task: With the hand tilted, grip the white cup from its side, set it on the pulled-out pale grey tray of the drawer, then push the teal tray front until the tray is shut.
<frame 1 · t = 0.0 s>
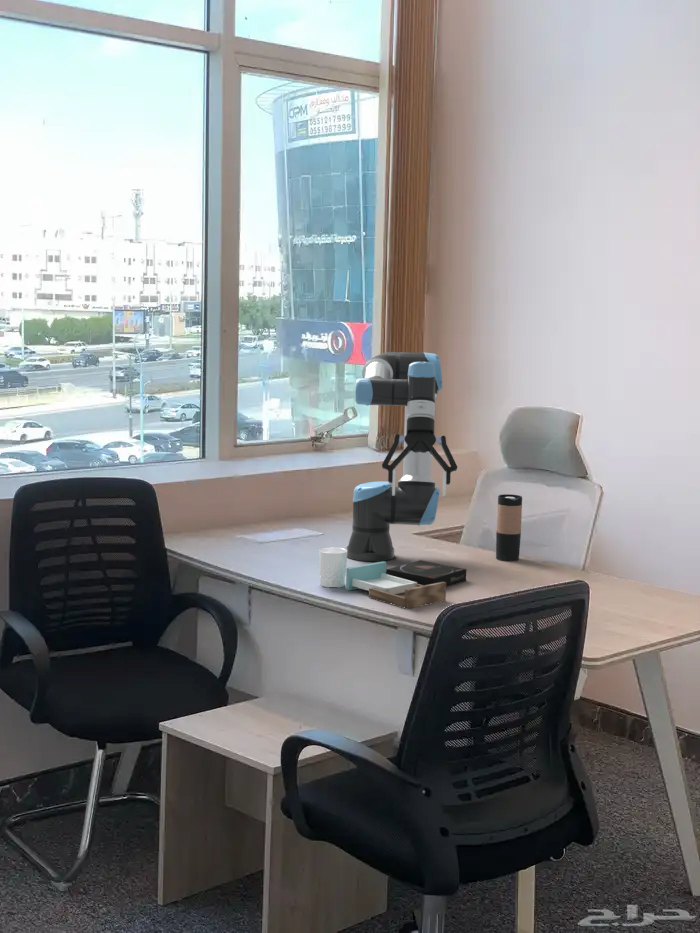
hand: (418, 495, 313), 28 cm above the table, tool tilted 20°, fingers open, 13 cm apart
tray: (383, 580, 321), point 3 cm above the table, slide at 8.0 cm
portable cd player: (425, 583, 335), on the table
travel mug: (507, 559, 367), on the table
white cup: (332, 585, 328), on the table
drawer: (407, 599, 314), on the table
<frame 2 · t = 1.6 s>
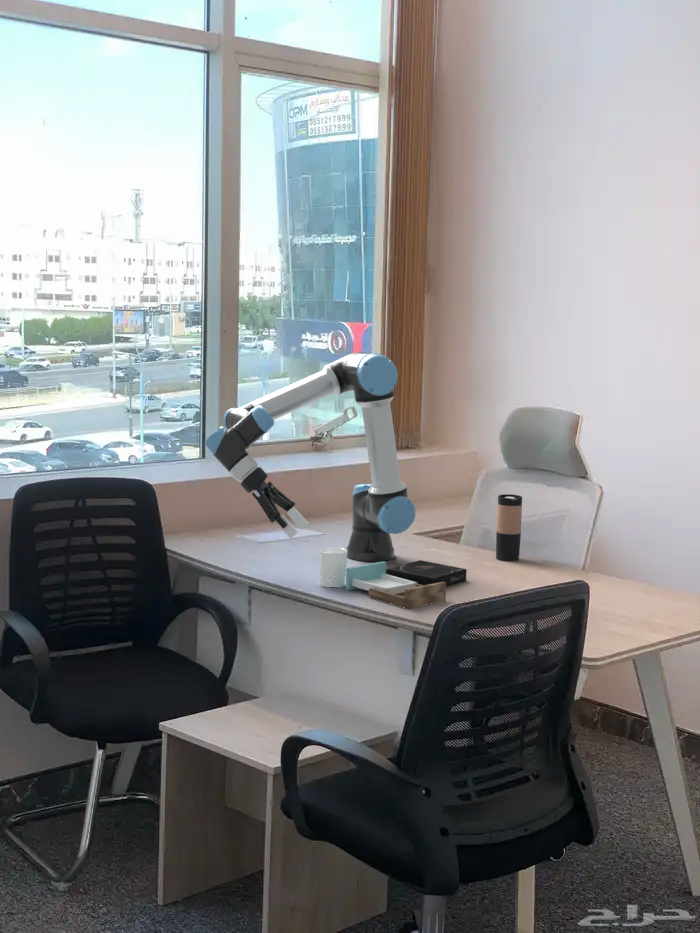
hand: (300, 530, 327), 15 cm above the table, tool tilted 45°, fingers open, 13 cm apart
nothing on the table moved.
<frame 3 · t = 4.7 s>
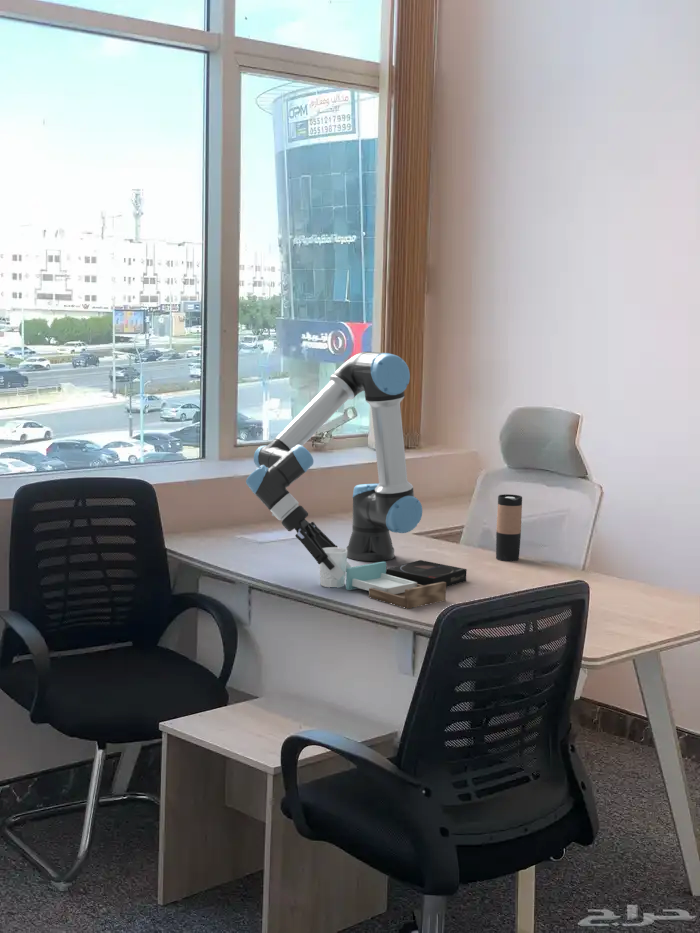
hand: (344, 573, 326), 4 cm above the table, tool tilted 45°, fingers closed on white cup, 8 cm apart
white cup: (332, 585, 328), on the table, touching gripper
everything else where it was.
when the fingers open (7 cm above the table, at t = 8.4 s): white cup drops 1 cm, resting on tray.
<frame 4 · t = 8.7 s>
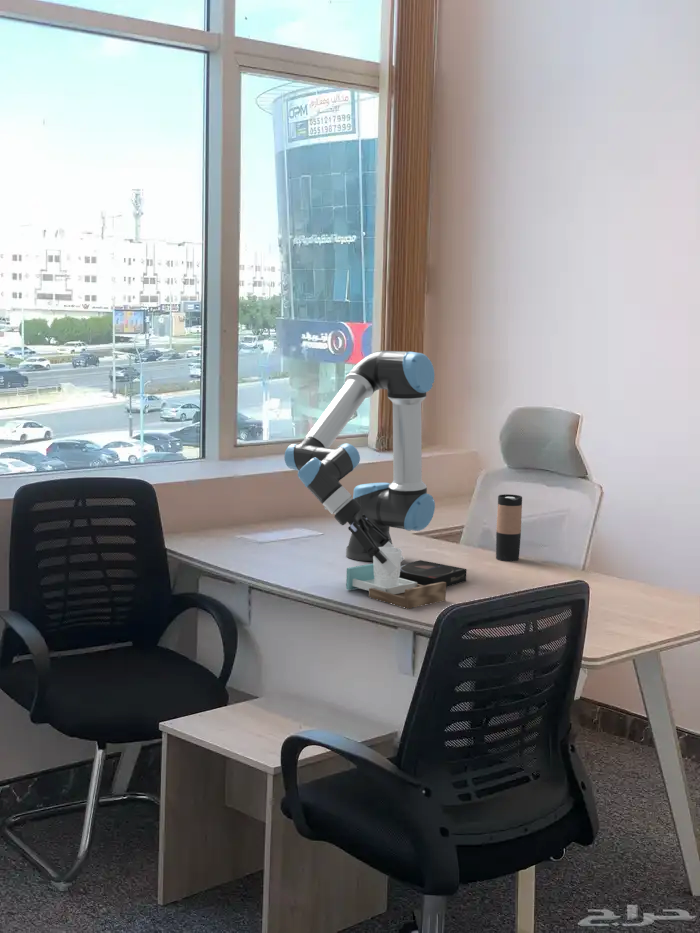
hand: (397, 566, 319), 8 cm above the table, tool tilted 45°, fingers open, 10 cm apart
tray: (383, 580, 321), point 3 cm above the table, slide at 7.9 cm, touching white cup
white cup: (386, 585, 320), point 2 cm above the table, touching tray
everything else where it was.
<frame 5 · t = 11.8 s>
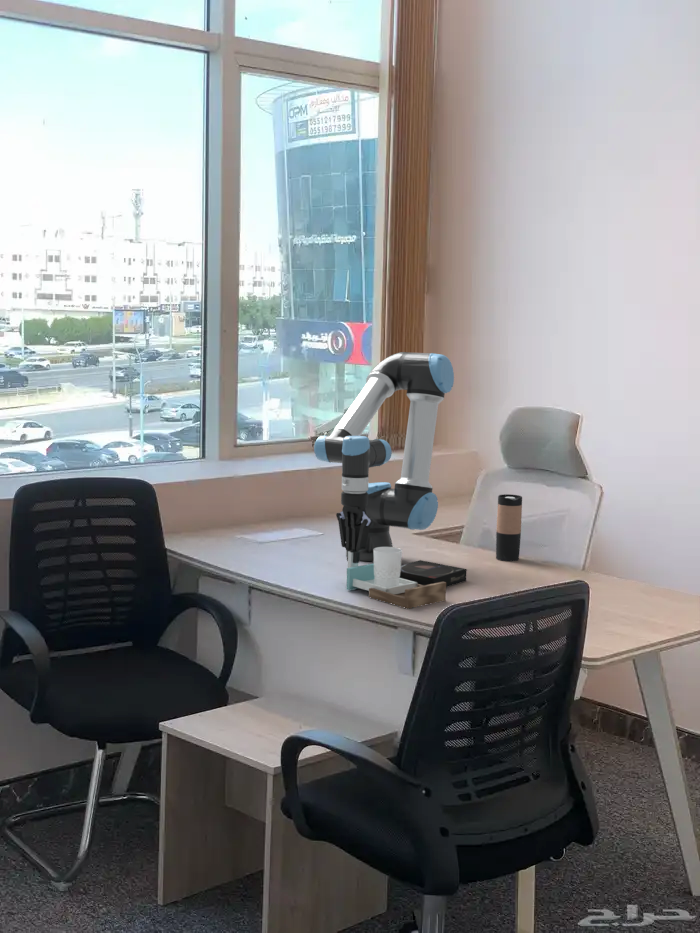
hand: (352, 573, 330), 3 cm above the table, tool pointing down, fingers closed
nothing on the table moved.
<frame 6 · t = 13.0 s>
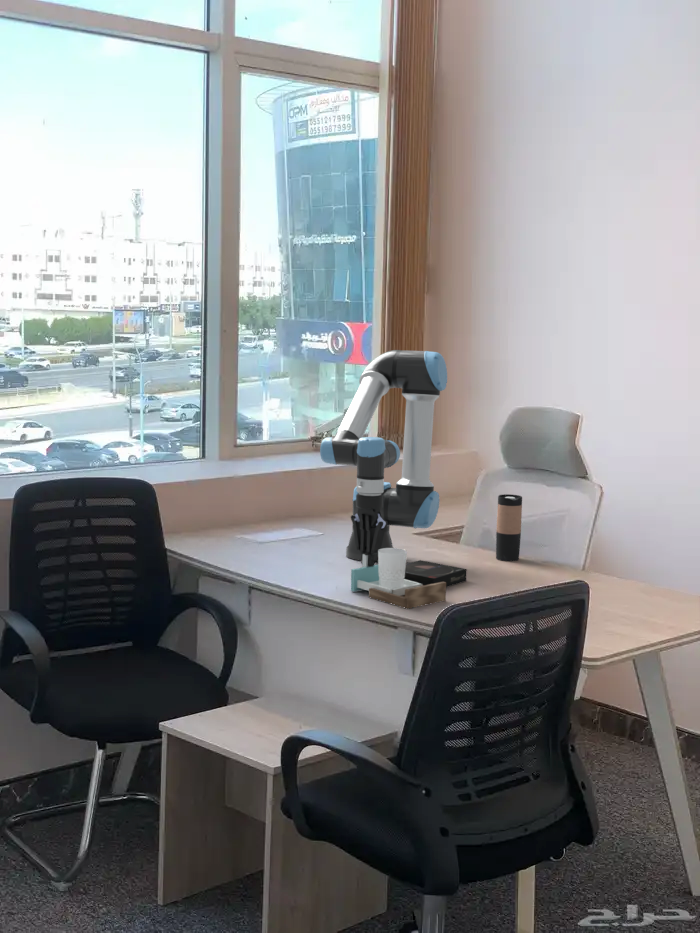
hand: (367, 576, 325), 3 cm above the table, tool pointing down, fingers closed
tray: (388, 581, 319), point 3 cm above the table, slide at 6.0 cm, touching white cup, gripper
white cup: (391, 587, 319), point 2 cm above the table, touching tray
everything else where it was.
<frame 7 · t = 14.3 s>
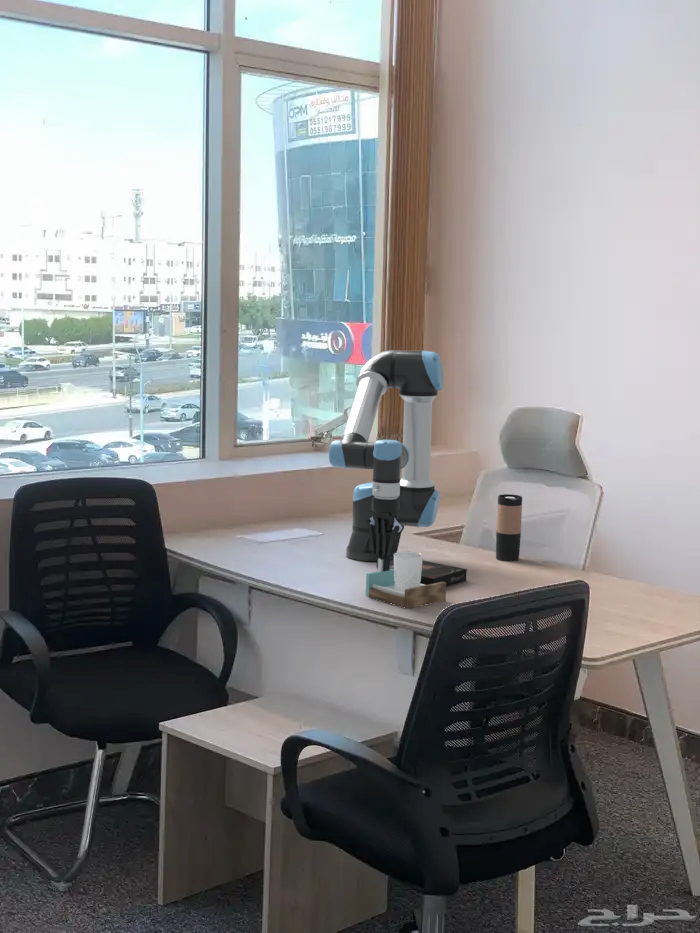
hand: (382, 581, 321), 3 cm above the table, tool pointing down, fingers closed
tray: (403, 586, 315), point 3 cm above the table, slide at -0.1 cm, touching white cup, gripper
white cup: (406, 591, 314), point 2 cm above the table, touching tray
everything else where it was.
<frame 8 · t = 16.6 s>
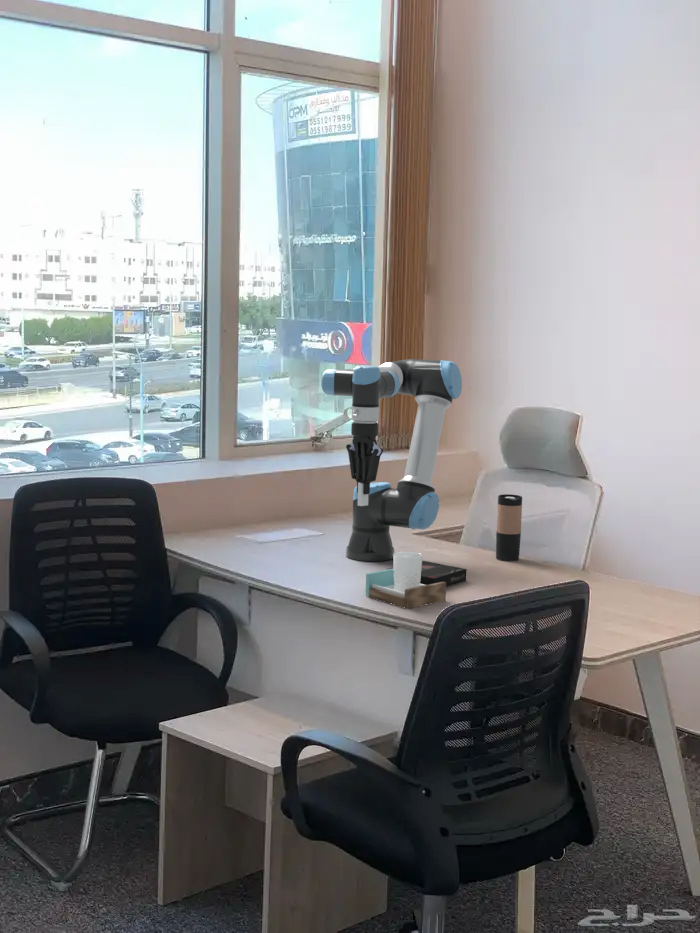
hand: (362, 505, 328), 22 cm above the table, tool pointing down, fingers closed
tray: (403, 585, 315), point 3 cm above the table, slide at 0.0 cm, touching white cup
everything else where it was.
at the end: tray slide at 0.0 cm; white cup inside the target area on the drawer (0.1 cm from its centre), point 1.9 cm above the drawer's base; white cup tilted 0° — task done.
